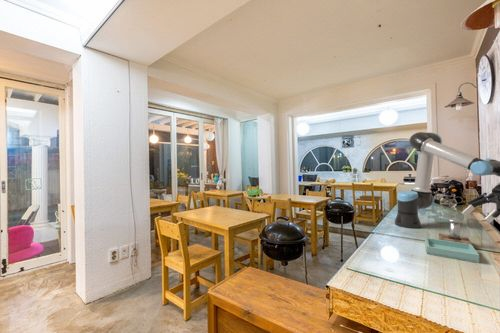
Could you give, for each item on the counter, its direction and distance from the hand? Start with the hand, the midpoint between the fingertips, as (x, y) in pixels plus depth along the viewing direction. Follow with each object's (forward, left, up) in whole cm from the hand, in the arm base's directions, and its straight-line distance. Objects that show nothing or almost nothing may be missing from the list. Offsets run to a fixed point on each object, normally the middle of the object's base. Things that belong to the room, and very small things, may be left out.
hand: (474, 217), depth 121 cm
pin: (-8, -4, -14) cm, 17 cm away
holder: (-8, -4, -14) cm, 17 cm away
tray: (-12, -21, -14) cm, 29 cm away
